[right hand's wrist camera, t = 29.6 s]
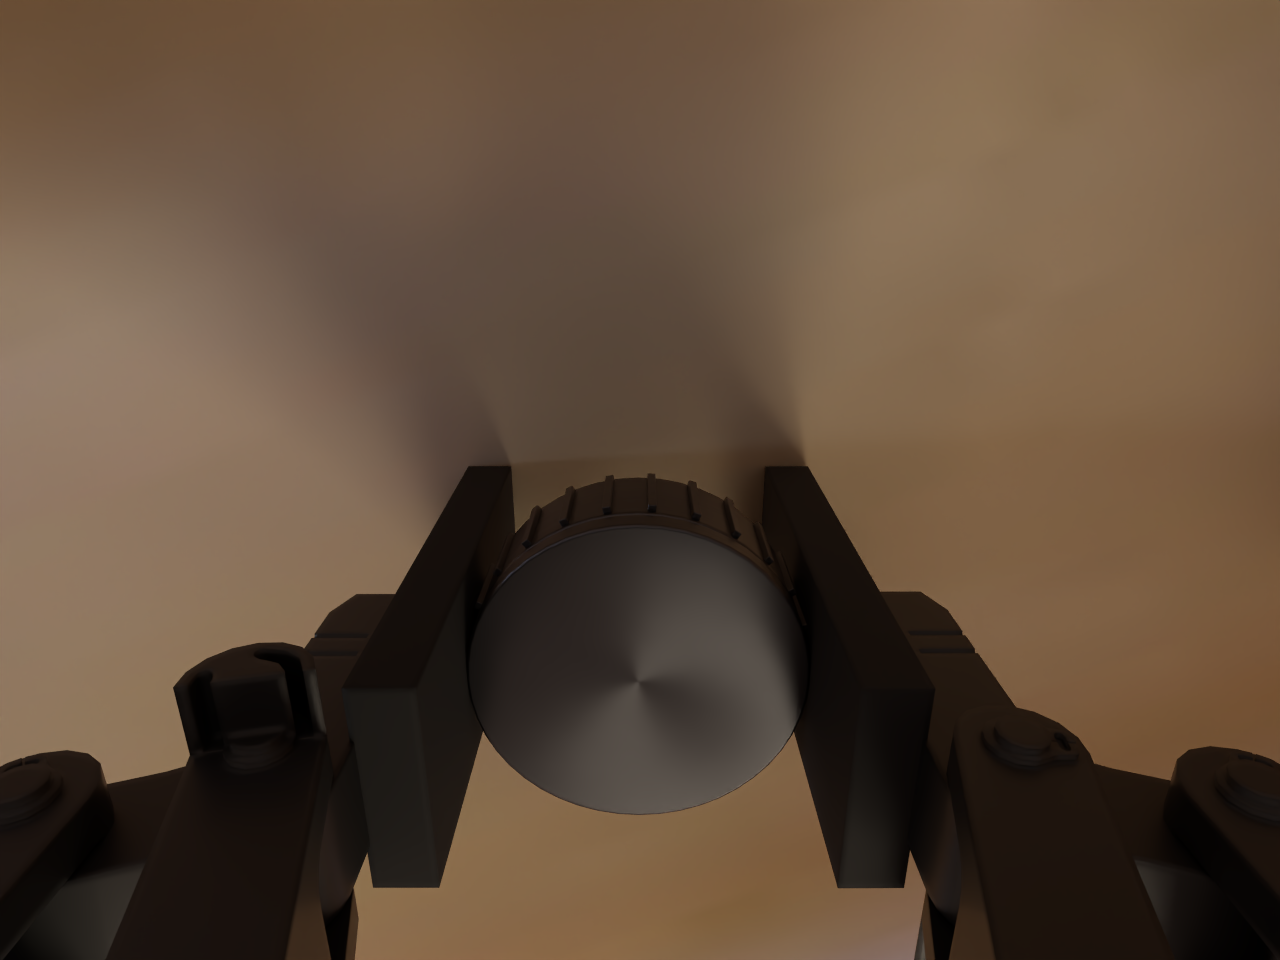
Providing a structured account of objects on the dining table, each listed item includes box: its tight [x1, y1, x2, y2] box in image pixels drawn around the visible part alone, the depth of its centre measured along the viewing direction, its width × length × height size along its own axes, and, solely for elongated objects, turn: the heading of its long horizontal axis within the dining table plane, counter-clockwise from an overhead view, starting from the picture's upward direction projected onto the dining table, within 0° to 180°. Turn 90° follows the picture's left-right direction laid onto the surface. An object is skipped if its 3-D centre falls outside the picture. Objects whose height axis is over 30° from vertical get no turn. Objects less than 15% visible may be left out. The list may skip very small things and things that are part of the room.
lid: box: [467, 473, 810, 815], centre depth 11 cm, size 5×5×2 cm
